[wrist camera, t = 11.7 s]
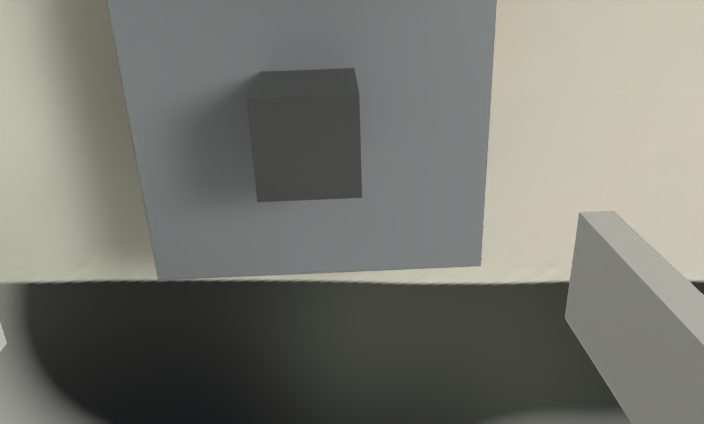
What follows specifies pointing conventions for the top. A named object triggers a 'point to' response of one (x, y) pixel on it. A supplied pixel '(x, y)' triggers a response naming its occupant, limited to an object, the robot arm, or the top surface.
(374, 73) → the cover sheet
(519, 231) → the top surface
